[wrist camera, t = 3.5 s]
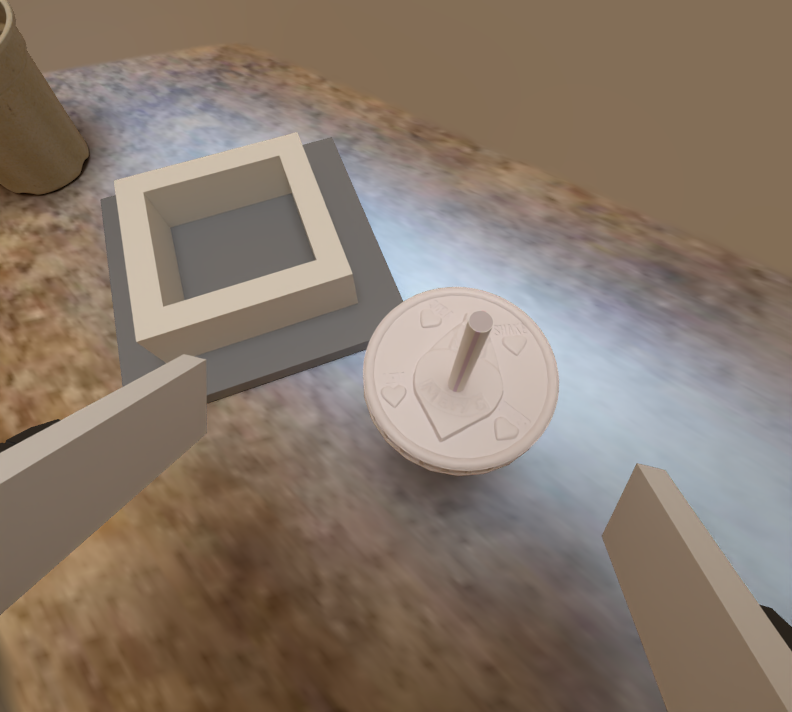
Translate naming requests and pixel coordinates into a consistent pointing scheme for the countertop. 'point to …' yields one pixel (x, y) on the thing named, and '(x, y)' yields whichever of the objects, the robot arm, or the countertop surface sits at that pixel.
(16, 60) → the flower pot
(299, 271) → the socket
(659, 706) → the countertop surface
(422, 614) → the countertop surface
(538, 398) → the smoothie
